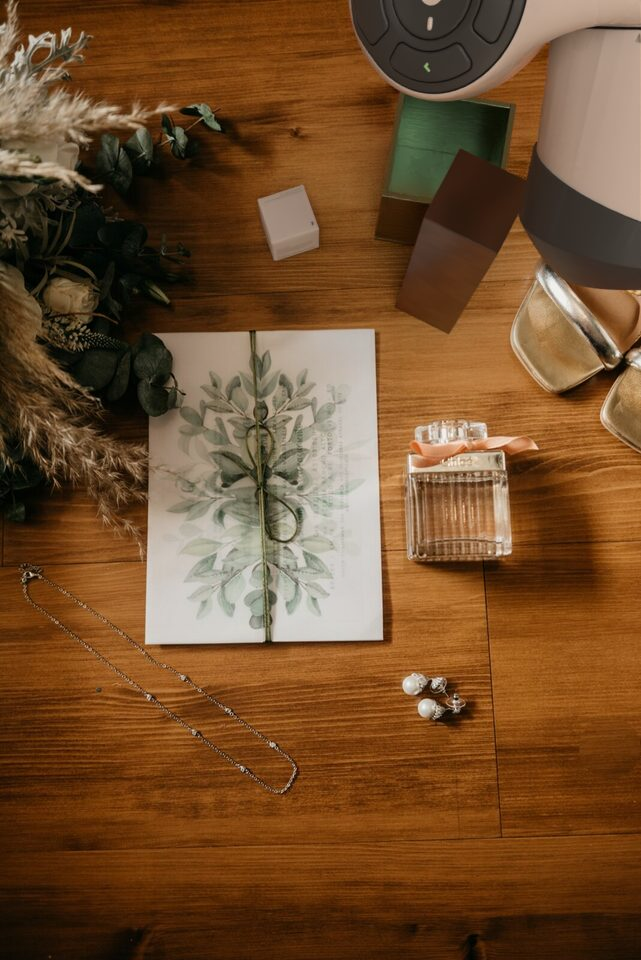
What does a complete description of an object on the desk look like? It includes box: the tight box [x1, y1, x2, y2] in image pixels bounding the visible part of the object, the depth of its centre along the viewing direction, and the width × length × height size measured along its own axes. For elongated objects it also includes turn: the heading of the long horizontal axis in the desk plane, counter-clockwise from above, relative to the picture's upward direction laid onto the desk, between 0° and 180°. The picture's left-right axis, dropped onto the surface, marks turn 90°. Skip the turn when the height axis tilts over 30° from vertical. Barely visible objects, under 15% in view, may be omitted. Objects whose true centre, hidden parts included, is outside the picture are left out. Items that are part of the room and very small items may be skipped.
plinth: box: [395, 148, 526, 335], centre depth 72 cm, size 7×7×23 cm
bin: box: [373, 91, 517, 247], centre depth 79 cm, size 12×12×11 cm
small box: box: [257, 184, 320, 262], centre depth 82 cm, size 6×6×5 cm
